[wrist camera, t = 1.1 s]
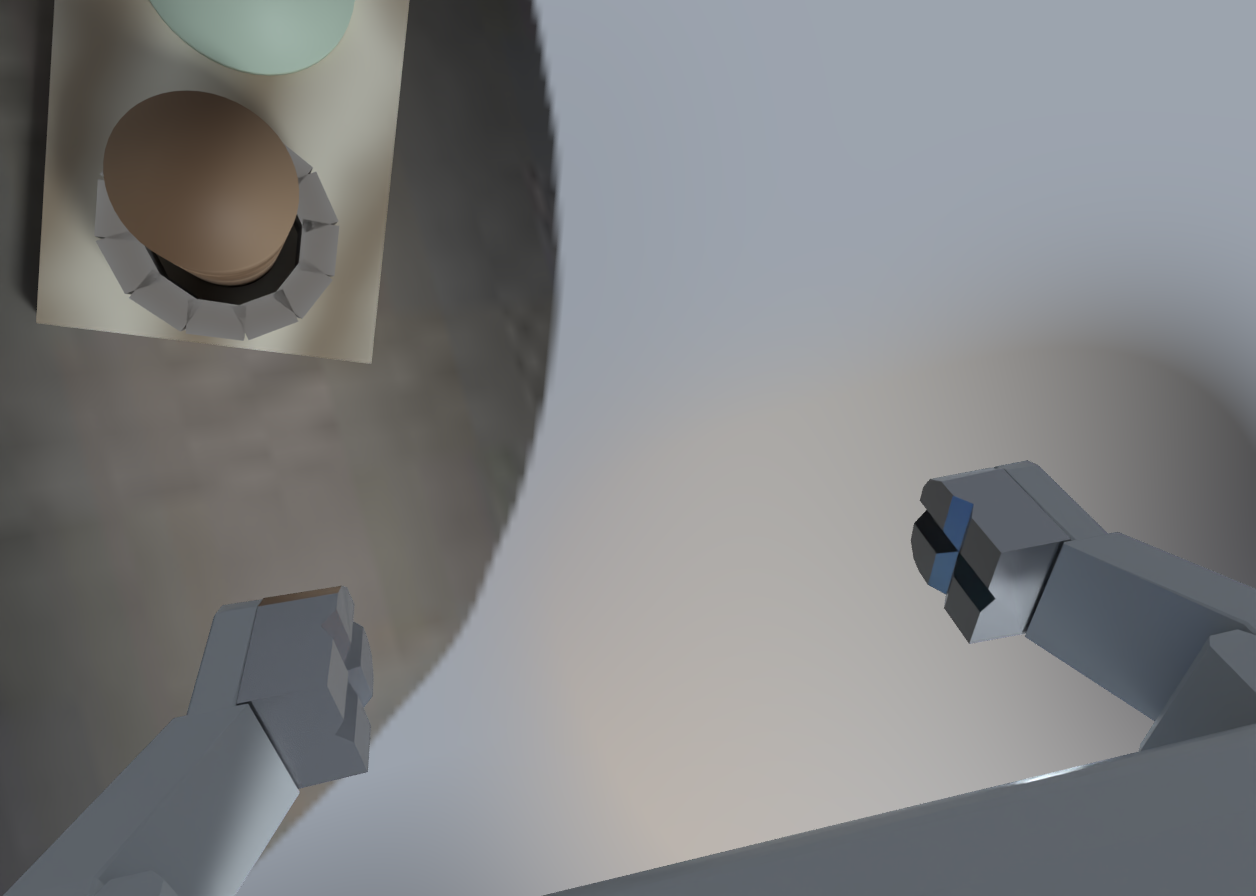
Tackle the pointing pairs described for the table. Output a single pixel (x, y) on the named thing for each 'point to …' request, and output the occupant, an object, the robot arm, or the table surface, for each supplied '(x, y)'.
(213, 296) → the birch board
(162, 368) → the table surface
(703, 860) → the robot arm
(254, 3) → the sage pad
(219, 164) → the walnut peg
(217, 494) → the table surface
